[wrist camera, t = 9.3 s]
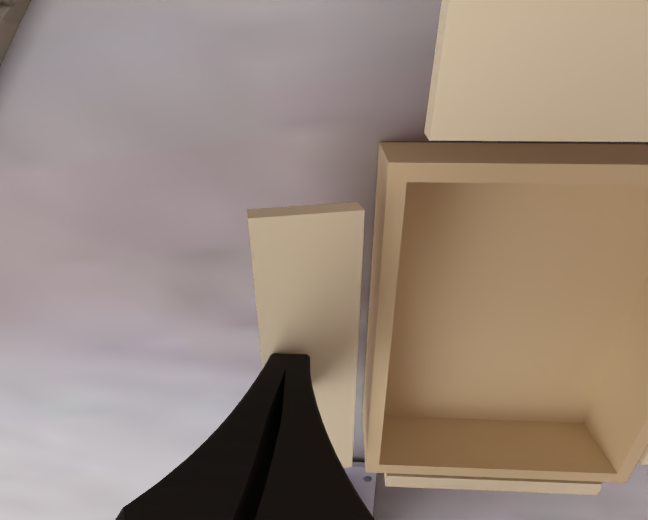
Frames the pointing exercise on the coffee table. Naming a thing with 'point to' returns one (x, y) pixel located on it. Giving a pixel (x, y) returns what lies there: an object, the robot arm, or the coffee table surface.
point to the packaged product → (10, 21)
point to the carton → (508, 316)
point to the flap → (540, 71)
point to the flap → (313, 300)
